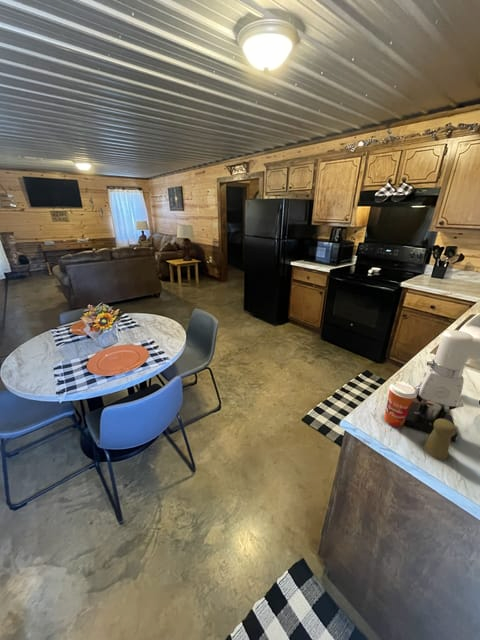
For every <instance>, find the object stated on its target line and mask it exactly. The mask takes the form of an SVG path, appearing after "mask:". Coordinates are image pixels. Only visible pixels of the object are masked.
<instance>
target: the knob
mask: <svg viewBox="0 0 480 640" xmlns="http://www.w3.org/2000/svg"><path fill="white" fill-rule="evenodd" d="M425 405H426V407H425V410H424V413H423V415H422V417H423V418H425V419H426V420H428V421H431V422H435V420H437V419H438V416H439V414H440V411H441V406H440V405H439V404H437V403H435V402H432V401H427V402H426V403H425Z"/></svg>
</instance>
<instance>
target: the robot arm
mask: <svg viewBox="0 0 480 640" xmlns="http://www.w3.org/2000/svg"><path fill="white" fill-rule="evenodd" d="M468 360H473V361H477V362H480V312H478V313H477V314H475V315H474V316H472V317H471V318H470V319H469V320H468V321H466V322H465V323H464V324H463V325H462V326H461V327H460V328H459V329H447V330H445V331H444V332H443V333H442V335H441V337H440V340H439V344H438V347H437V349H436V353H435V356H434V357H433V359H432V361H427V362H426V366H427V367H428V368H427V369H426V371H425V373H424V374H423V377H422V379H421V381H420V383H419V385H416V386H415V387H413V388H414V389H415V392H416V394H417V396H416V398H417V400H418V401H419V402H420V403H419V406H418V411H419V412H420V415H423V413H424V410H425V407H426V405H425V403H426V402H427V400H429V401H432V402H436V403H440V404H443V405H442V406H441V411H440V414H439V416H438V419H442V418H444V417H445V415H446V412H448V411H449V412H450V411H452V410H455V409H459V408H464V407H465V405H464V402H463V400H462V398H461V396H462V393H463V392H462V391H463V389H464V382H465V381H464V380H465V378H464V377H463V374H462V372H463V373H464V370H465V367H466V365H467V363H468ZM417 392H419V393H417Z"/></svg>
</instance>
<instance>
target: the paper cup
mask: <svg viewBox="0 0 480 640" xmlns="http://www.w3.org/2000/svg"><path fill="white" fill-rule="evenodd" d="M414 388H415V387H414V386H412V385H411V384H409V383H407V382H405V381H404V382H403V381H394V382H393V383H392V384H389V392H388V397H387V402H386V406H385V413H384V421H385V422H386V423H387V424H388V425H389V426H392V427H395V428H400V427H402V426H404V420H405V418H406V416H407V413H408V411H409V409H410V406H411V404H412V402H413V399H414V398H416V396H417V394H416V392H415V389H414Z"/></svg>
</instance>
